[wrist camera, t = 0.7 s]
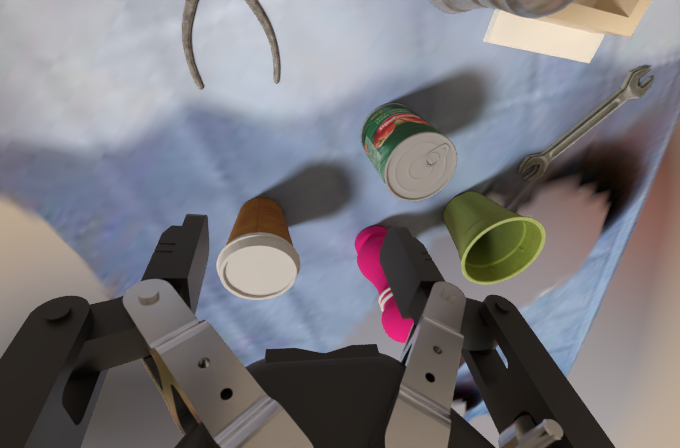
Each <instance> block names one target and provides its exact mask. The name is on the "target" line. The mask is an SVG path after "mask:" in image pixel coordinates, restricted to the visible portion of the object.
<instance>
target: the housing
mask: <svg viewBox="0 0 680 448" xmlns="http://www.w3.org/2000/svg"><path fill="white" fill-rule="evenodd" d="M651 1H652V0H576V1H574V2H573V3H572V4H571V5H569V6H568V7H566V8H564V9H563V10H561V11H558V12H556V13H554V14H551V15H548V16H546V17H542V18H537V19H532V18H524V17H519V16H516V15H514V14H511V13H508V12H505V11H502V10H499V9H495V10H494V13H493V16H492V18H491V21H490V24H489V26H488V29H487V32H486V35H485V37H484V40H483V42H488V43H493V44H498V45H503V46H508V47H513V48H517V49H522V50H527V51H532V52H537V53H542V54H547V55H551V56H556V57H561V58H566V59H571V60H576V61H581V62H585V63H590V61H591V59H592V57H593V56H594V54H595V52H596V50H597V48H598V47H599V45H600V43H601V41H602V39H603V38H604V36H605V34H606V35H616V36H625V37H630V36H631V35H632V33H633V31H634V30H635V28H636V26H637V24H638V23H639V21H640V19H641V18H642V16H643V14H644V13H645V11H646V9H647V8H648V6H649V4H650V3H651Z"/></svg>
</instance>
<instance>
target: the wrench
mask: <svg viewBox="0 0 680 448" xmlns="http://www.w3.org/2000/svg"><path fill="white" fill-rule="evenodd" d="M650 70H651V69H648V68H643V67H638V68H636V69H633V70H631V71H629V72H628V74H627V76H626V78H625V80H624V82H623V84H622V86H621V88H620V89H619V90H618V91H616V92H615V93H614V94H613V95H611V96H610V97H609V98H608V99H607V100H605V101H604V102H603V103H602V104H600V105H599V106H598V107H597V108H595V109H594V110H593V111H592V112H591V113H589V114H588V115H587V116H586V117H584V118H583V119H582V120H581V121H580V122H578V123H577V124H576V125H575V126H573V127H572V128H571V129H570V130H569V131H567V132H566V133H565V134H564V135H562V136H561V137H560V138H559V139H558V140H556V141H555V142H554V143H553V144H551V145H550V146H549V147H548V148H547V149H545V150H544V151H543V152H542V153H540V154H534V155H529V156H527V157H526V158H525V159H524V161H523V162H522V163H521V164H520V167H519V171H518V173H519V174H521V175H522V174H523V173H524V172H525V171H527V170H528V169H529V168H530V167H531V166H535V167H534V169H533V171H532V172H530V173H529V174H528V175H526V176H525V177H524V178H522V179H524V180H525V181H533V180H535V179H537V178H539V177H541V176H543V174H544V172H545V170H546V168H547V166H548V164H549V163H550V162H551V161H552V160H553V159H555V158H556V157H557V156H558V155H560V154H561V153H562V152H563V151H565V150H566V149H567V148H568V147H570V146H571V145H572V144H573V143H575V142H576V141H577V140H578V139H580V138H581V137H582V136H583V135H585V134H586V133H587V132H588V131H590V130H591V129H592V128H593V127H595V126H596V125H597V124H598V123H600V122H601V121H602V120H603V119H605V118H606V117H607V116H608V115H610V114H611V113H612V112H613V111H615V110H616V109H617V108H618V107H620V106H621V105H622V104H623V103H625V102H626V101H627V100H628V99H635V98H642V97H643V96H644V94H645V93H646V92H647V91H648V90H649V89H650V87H651V85H652V82H653V79H654V78H651V77H648V78H647V79H645V80H644V81H643V82H642V83H641V84H640V85H639V80H640V78H641V77H642V76H643V75H645V74H646V73H647V72H649V71H650Z"/></svg>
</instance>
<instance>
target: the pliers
mask: <svg viewBox="0 0 680 448" xmlns="http://www.w3.org/2000/svg"><path fill="white" fill-rule="evenodd" d="M245 1H246V2H247V4H248V5H249V6H250V8H251V9H252V11H253V12H254V14H255V15H256V17H257V18H258V20H259V21H260V23H261V25H262V26H263V28H264V31H265V33H266V35H267V37H268V40H269V43H270V47H271V51H272V55H273V63H274V82H275V83H276V84H277V83H278V82H279V74H280V66H279V55H278V50H277V45H276V41H275V37H274V34H273V31H272V28H271V26H270V23H269V21H268V19H267V17H266V16H265V14H264V12H263V10H262V9H261V7H260V5H259V4H258V2H257V0H245ZM197 2H198V0H186V3H185V9H184V14H183V22H182V41H183V47H184V52H185V56H186V60H187V64H188V67H189V70H190V73H191V75H192V77H193V79H194V81H195V83H196V85H197V87H198V88H199V89H201V90H202V89H203V85H202V82H201V80H200V78H199V75H198V73H197V70H196V67H195V64H194V61H193V56H192V50H191V27H192V22H193V17H194V13H195V9H196V6H197Z"/></svg>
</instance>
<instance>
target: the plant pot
mask: <svg viewBox="0 0 680 448" xmlns="http://www.w3.org/2000/svg"><path fill="white" fill-rule="evenodd" d="M443 216H444V222H445V224H446V226H447V228H448V230H449V233H450V235H451V237H452V239H453V241H454V244H455V246H456V248H457V250H458V252H459V258H460V260H461V269H462V273H463V274H464V276H465V277H466V278H467V279H468V280H469V281H471V282H473V283H477V284H494V283H498V282H502V281H505V280H507V279H509V278H512V277H513V276H515V275H517V274H519V273H520V272H522V271H523V270H525V269H526V268H527V267H528V266H529V265H530V264H531V263H532V262H533V261H534V260H535V259H536V258H537V257H538V255H539V254H540V252H541V250H542V248H543V246H544V243H545V237H546V234H545V229H544V227H543V225H542V224H541V223H540V222H539V221H537V220H535V219H533V218H530V217H524V216H521V215H519V214H517V213H513V212H511V211H509V210H507V209H506V208H504V207H502V206H501V205H499V204H497V203H495V202H494V201H492V200H490V199H489V198H487V197H485V196H483V195H482V194H480V193H478V192H473V191H469V192H465V193H464V194H461V195H459V196H456V197H454V198H453V199H452V200H451V201H450V202H449V203H448V205H447V206H446V208H445V210H444V214H443Z"/></svg>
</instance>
